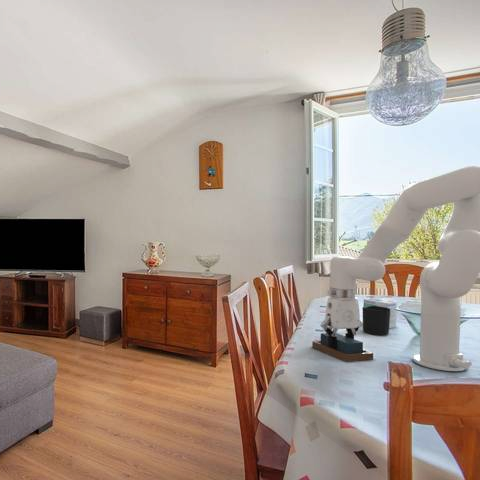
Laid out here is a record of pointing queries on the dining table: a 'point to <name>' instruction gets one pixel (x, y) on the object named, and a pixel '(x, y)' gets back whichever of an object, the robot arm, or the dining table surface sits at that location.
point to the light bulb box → (384, 303)
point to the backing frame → (345, 357)
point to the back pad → (344, 344)
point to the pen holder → (376, 320)
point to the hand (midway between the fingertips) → (340, 346)
